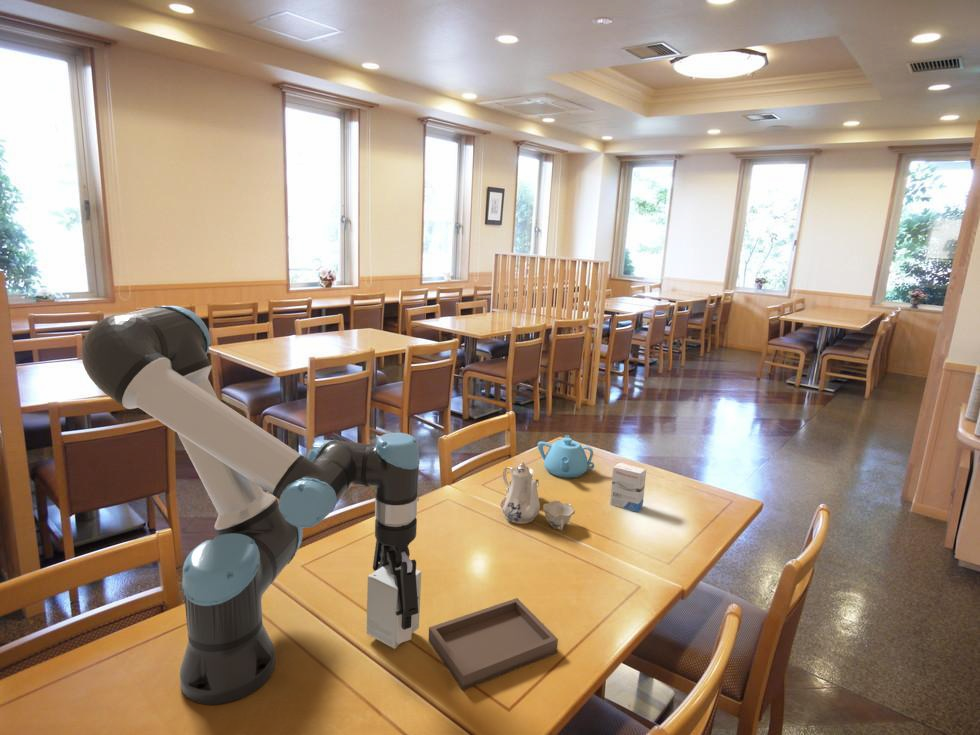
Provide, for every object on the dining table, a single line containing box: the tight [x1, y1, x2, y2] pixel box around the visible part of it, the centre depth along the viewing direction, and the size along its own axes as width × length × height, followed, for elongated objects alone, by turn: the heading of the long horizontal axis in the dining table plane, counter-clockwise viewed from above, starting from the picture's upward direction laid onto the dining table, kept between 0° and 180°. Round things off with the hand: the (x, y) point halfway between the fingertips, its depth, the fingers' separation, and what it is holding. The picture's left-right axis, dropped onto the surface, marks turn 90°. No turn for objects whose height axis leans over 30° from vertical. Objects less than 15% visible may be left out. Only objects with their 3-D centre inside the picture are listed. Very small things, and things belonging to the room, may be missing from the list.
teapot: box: [537, 434, 595, 479], centre depth 193 cm, size 15×17×11 cm
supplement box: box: [366, 564, 422, 649], centre depth 112 cm, size 7×7×13 cm
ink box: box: [609, 462, 647, 513], centre depth 170 cm, size 8×5×12 cm, turn 58°
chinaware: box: [500, 461, 575, 531], centre depth 163 cm, size 28×17×17 cm, turn 34°
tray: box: [428, 597, 559, 691], centre depth 111 cm, size 20×14×3 cm
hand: (393, 623), depth 113 cm, fingers closed on supplement box, 9 cm apart
